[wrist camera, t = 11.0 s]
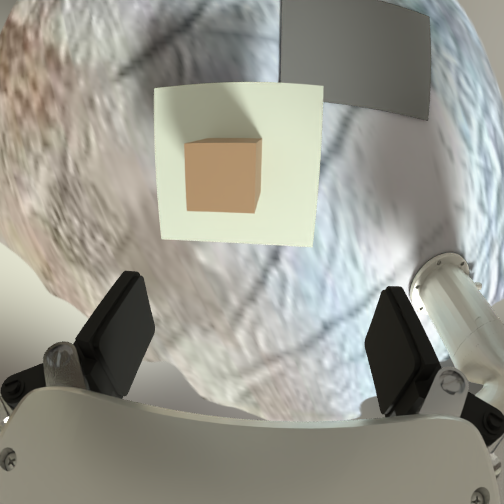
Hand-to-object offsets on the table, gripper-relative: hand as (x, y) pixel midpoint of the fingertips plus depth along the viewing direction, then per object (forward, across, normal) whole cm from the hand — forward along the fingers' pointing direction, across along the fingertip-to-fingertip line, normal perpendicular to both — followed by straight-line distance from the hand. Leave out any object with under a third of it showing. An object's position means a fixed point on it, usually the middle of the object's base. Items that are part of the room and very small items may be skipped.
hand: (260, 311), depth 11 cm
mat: (+28, -11, -16) cm, 34 cm away
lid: (+16, +3, -2) cm, 17 cm away
